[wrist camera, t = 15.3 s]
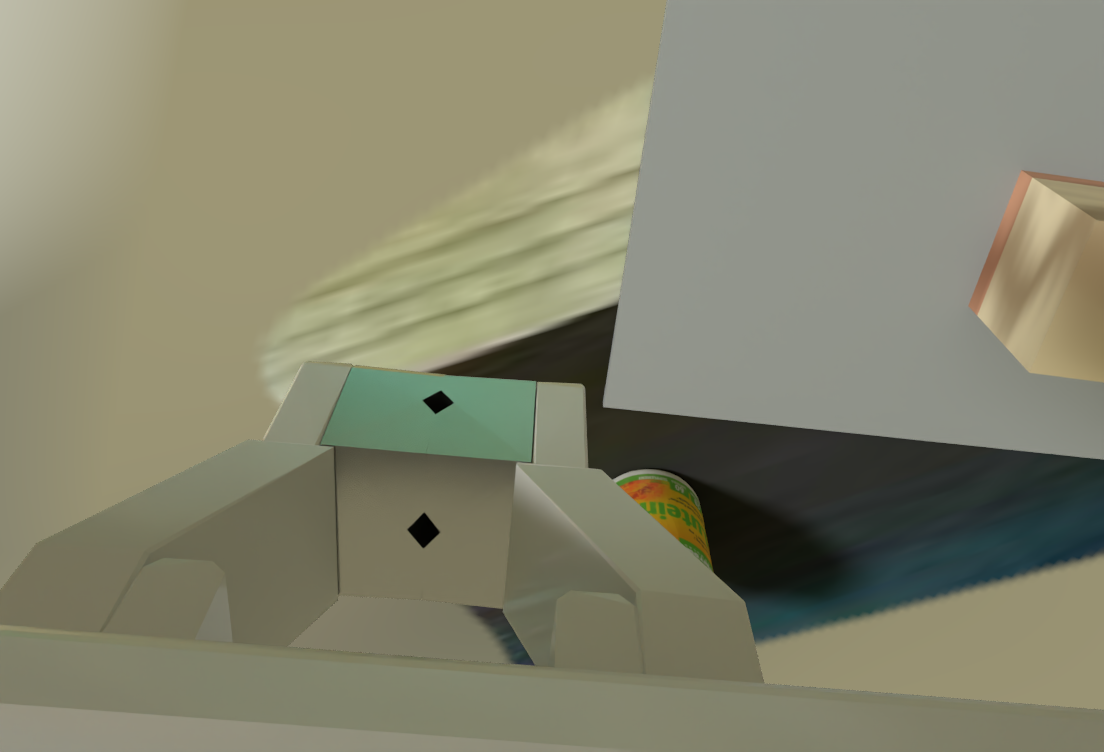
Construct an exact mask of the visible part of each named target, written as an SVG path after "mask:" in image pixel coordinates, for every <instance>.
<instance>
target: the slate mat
mask: <svg viewBox="0 0 1104 752" xmlns="http://www.w3.org/2000/svg"><path fill="white" fill-rule="evenodd" d="M1021 170H1024V171H1031V172H1038V173H1045V174H1052V175H1059V176H1066V177H1073V178H1081V179H1088V180H1095V181H1102V182H1104V0H667V2H666V8H665V15H664V22H663V28H662V34H661V40H660V46H659V53H658V59H657V65H656V71H655V78H654V84H653V90H652V97H651V103H650V109H649V115H648V122H647V128H646V134H645V141H644V147H643V153H642V160H641V166H640V172H639V178H638V185H637V191H636V197H635V204H634V210H633V216H632V222H631V229H630V235H629V241H628V248H627V254H626V260H625V266H624V273H623V279H622V285H621V292H620V298H619V304H618V311H617V317H616V323H615V329H614V336H613V342H612V348H611V355H610V361H609V367H608V373H607V380H606V386H605V392H604V399H603V407H608V408H618V409H627V410H637V411H646V412H656V413H665V414H675V415H685V416H694V417H704V418H713V419H723V420H732V421H742V422H751V423H761V424H770V425H780V426H790V427H799V428H809V429H818V430H828V431H837V432H847V433H856V434H866V435H876V436H885V437H895V438H904V439H914V440H923V441H933V442H942V443H952V444H961V445H971V446H981V447H990V448H1000V449H1009V450H1019V451H1028V452H1038V453H1047V454H1057V455H1066V456H1076V457H1086V458H1095V459H1104V382H1096V381H1088V380H1081V379H1073V378H1065V377H1058V376H1050V375H1042V374H1035V373H1029V372H1028V371H1027V370H1026V369H1025V368H1024V366H1023V365H1022V364H1021V363H1020V362H1019V361H1018V360H1017V359H1016V358H1015V357H1014V356H1013V354H1012V353H1011V352H1010V351H1009V350H1008V349H1007V348H1006V347H1005V346H1004V345H1003V343H1002V342H1001V341H1000V340H999V339H998V338H997V337H996V336H995V335H994V334H993V332H992V331H991V330H990V329H989V328H988V327H987V326H986V325H985V324H984V323H983V322H982V320H981V319H980V318H979V317H978V316H977V315H976V314H975V313H974V312H973V311H972V309H971V308H970V307H969V306H968V305H969V303H970V300H971V298H972V295H973V292H974V290H975V287H976V285H977V282H978V280H979V277H980V274H981V272H982V269H983V267H984V264H985V262H986V259H987V257H988V254H989V251H990V249H991V246H992V244H993V241H994V239H995V236H996V234H997V231H998V228H999V226H1000V223H1001V221H1002V218H1003V216H1004V213H1005V211H1006V208H1007V205H1008V203H1009V200H1010V198H1011V195H1012V193H1013V190H1014V188H1015V185H1016V182H1017V180H1018V177H1019V175H1020V172H1021Z"/></svg>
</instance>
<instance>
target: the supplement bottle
mask: <svg viewBox="0 0 1104 752" xmlns="http://www.w3.org/2000/svg"><path fill="white" fill-rule="evenodd" d="M613 481H614V482H615V483H616V484H617V485H618V486H619V487H621V488H622V489H623V490H624V491H625V492H626V493H627V494H628V495H629V496H630V497H631V498H632V499H634V500H635V501H636V502H637V503H638V504H639V505H640V506H641V507H642V508H643V509H644V510H646V511H647V512H648V513H649V514H650V515H651V516H652V517H653V518H654V519H655V520H656V521H658V522H659V523H660V524H661V525H662V526H663V527H664V528H665V529H666V530H667V531H668V532H669V533H671V534H672V535H673V536H674V537H675V538H676V539H677V540H678V541H679V542H680V543H681V544H683V545H684V546H685V547H686V548H687V549H688V550H689V551H690V552H691V553H692V554H693V555H694V556H696V557H697V558H698V559H699V560H700V561H701V562H702V563H703V564H704V565H705V566H706V567H708V568H709V569H710V570H711V571H712V572H713V568H712V563H711V557H710V552H709V547H708V541H707V537H706V532H705V526H704V521H703V515H702V511H701V507H700V503H699V500H698V497H697V495H696V493H695V492H694V490H693V489H692V488H691V487H690V486H689V485H688V484H687V483H686V482H685V481H684V480H683V479H681V478H680V477H678V476H676V475H674V474H671V473H669V472H666V471H661V470H655V469H642V470H635V471H631V472H628V473H625V474H623V475H620V476H618V477H617V478H615V479H613Z"/></svg>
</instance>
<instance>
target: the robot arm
mask: <svg viewBox="0 0 1104 752" xmlns="http://www.w3.org/2000/svg"><path fill="white" fill-rule="evenodd" d="M338 596H356V597H357V596H358V597H375V598H395V599H413V600H426V601H436V602H445V603H455V604H464V605H473V606H483V607H492V608H502V609H503V613H504V615H505V616H506V618H507V620H508V621H509V623H510V625H511V626H512V628H513V629H514V631H515V633H516V634H517V636H518V638H519V639H520V641H521V643H522V644H523V646H524V648H525V649H526V651H527V652H528V654H529V656H530V657H531V659H532V661H533V662H534V664H535V666H530V665H517V664H504V663H491V662H478V661H465V660H452V659H439V658H426V657H413V656H401V655H388V654H374V653H362V652H349V651H336V650H323V649H310V648H297V647H287V646H288V645H289V644H291V642H293V641H294V640H295V639H296V638H297V637H298V636H299V635H300V634H301V633H302V632H304V631H305V630H306V629H307V628H308V627H309V626H310V625H311V624H312V623H313V622H315V621H316V620H317V619H318V618H319V617H320V616H321V615H322V614H323V613H324V612H326V611H327V610H328V609H329V608H330V607H331V606H332V605H333V604H334V603H335V602H336V601H338ZM0 752H1104V710H1098V709H1085V708H1073V707H1060V706H1046V705H1035V704H1022V703H1009V702H996V701H982V700H970V699H958V698H945V697H932V696H920V695H906V694H893V693H881V692H868V691H855V690H842V689H829V688H828V689H827V688H816V687H803V686H790V685H775V684H764V680H763V676H762V672H761V667H760V664H759V659H758V655H757V651H756V647H755V642H754V638H753V634H752V630H751V626H750V621H749V617H748V613H747V609H746V605H745V601H743V600H742V599H741V598H740V597H739V596H738V595H737V594H736V593H735V592H734V591H733V590H731V589H730V588H729V587H728V586H727V585H726V584H725V583H724V582H723V581H722V580H721V579H719V578H718V577H717V576H716V575H715V574H714V573H713V572H712V571H711V570H710V569H709V568H708V567H706V566H705V565H704V564H703V563H702V562H701V561H700V560H699V559H698V558H697V557H696V556H694V555H693V554H692V553H691V552H690V551H689V550H688V549H687V548H686V547H685V546H684V545H683V544H681V543H680V542H679V541H678V540H677V539H676V538H675V537H674V536H673V535H672V534H671V533H669V532H668V531H667V530H666V529H665V528H664V527H663V526H662V525H661V524H660V523H659V522H658V521H656V520H655V519H654V518H653V517H652V516H651V515H650V514H649V513H648V512H647V511H646V510H644V509H643V508H642V507H641V506H640V505H639V504H638V503H637V502H636V501H635V500H634V499H632V498H631V497H630V496H629V495H628V494H627V493H626V492H625V491H624V490H623V489H622V488H621V487H619V486H618V485H617V484H616V483H615V482H614V481H613V480H612V479H611V478H610V477H609V476H607V475H606V474H605V473H604V472H603V471H602V470H600V469H589V468H588V454H587V429H586V403H585V387H584V386H583V385H582V384H572V383H550V382H537V386H536V381H524V380H509V379H493V378H478V377H462V376H447V375H443V374H434V373H425V372H415V371H406V370H397V369H387V368H378V367H369V366H359V365H356V366H353V365H352V364H347V363H332V362H317V361H308V362H304V363H303V364H302V365H301V367H300V369H299V371H298V373H297V375H296V376H295V378H294V380H293V382H292V384H291V386H290V388H289V390H288V392H287V394H286V396H285V398H284V399H283V401H282V403H281V405H280V407H279V409H278V411H277V413H276V415H275V417H274V419H273V421H272V423H271V424H270V427H269V428H268V430H267V432H266V434H265V436H264V438H263V440H262V441H260V440H246V441H244V442H242V443H240V444H238V445H236V446H234V447H232V448H230V449H228V450H226V451H224V452H222V453H220V454H218V455H216V456H214V457H211V458H210V459H207V460H206V461H204V462H201V463H199V464H197V465H195V466H193V467H191V468H189V469H187V470H185V471H183V472H181V473H179V474H177V475H175V476H173V477H171V478H169V479H167V480H165V481H163V482H160V483H159V484H156V485H154V486H152V487H150V488H148V489H146V490H144V491H143V492H140V493H138V494H136V495H134V496H132V497H130V498H128V499H126V500H124V501H122V502H120V503H118V504H116V505H114V506H112V507H110V508H108V509H105V510H104V511H101V512H99V513H97V514H95V515H93V516H91V517H89V518H87V519H85V520H83V521H81V522H79V523H77V524H75V525H73V526H71V527H69V528H67V529H65V530H63V531H61V532H58V533H56V534H54V535H53V536H51V537H48V538H46V539H44V540H42V541H40V542H38V543H36V545H35V546H34V547H33V548H32V550H31V551H30V552H29V554H28V555H27V556H26V557H25V559H24V560H23V561H22V563H21V564H20V565H19V566H18V568H17V569H16V570H15V572H14V573H13V574H12V575H11V577H10V578H9V579H8V581H7V582H6V583H5V584H4V586H3V587H2V588H1V590H0Z"/></svg>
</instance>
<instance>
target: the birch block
mask: <svg viewBox="0 0 1104 752" xmlns="http://www.w3.org/2000/svg"><path fill="white" fill-rule="evenodd" d="M968 306H969V307H970V308H971V309H972V311H973V312H974V313H975V314H976V315H977V316H978V317H979V318H980V319H981V320H982V322H983V323H984V324H985V325H986V326H987V327H988V328H989V329H990V330H991V331H992V332H993V334H994V335H995V336H996V337H997V338H998V339H999V340H1000V341H1001V342H1002V343H1003V345H1004V346H1005V347H1006V348H1007V349H1008V350H1009V351H1010V352H1011V353H1012V354H1013V356H1014V357H1015V358H1016V359H1017V360H1018V361H1019V362H1020V363H1021V364H1022V365H1023V366H1024V368H1025V369H1026V370H1027V371H1028V372H1029V373H1035V374H1042V375H1050V376H1058V377H1065V378H1073V379H1081V380H1088V381H1096V382H1104V182H1102V181H1095V180H1088V179H1081V178H1073V177H1066V176H1059V175H1052V174H1045V173H1038V172H1031V171H1024V170H1021V172H1020V175H1019V177H1018V180H1017V182H1016V185H1015V188H1014V190H1013V193H1012V195H1011V198H1010V200H1009V203H1008V205H1007V208H1006V211H1005V213H1004V216H1003V218H1002V221H1001V223H1000V226H999V228H998V231H997V234H996V236H995V239H994V241H993V244H992V246H991V249H990V251H989V254H988V257H987V259H986V262H985V264H984V267H983V269H982V272H981V274H980V277H979V280H978V282H977V285H976V287H975V290H974V292H973V295H972V298H971V300H970V303H969V305H968Z"/></svg>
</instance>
